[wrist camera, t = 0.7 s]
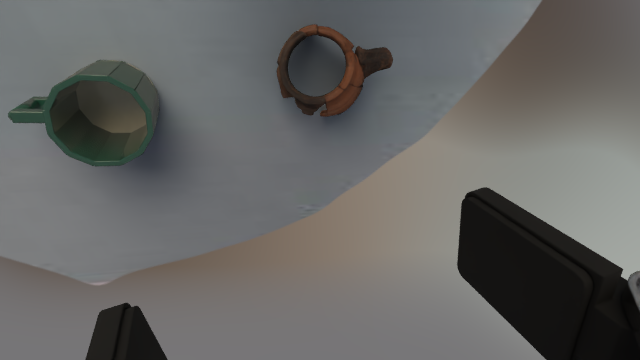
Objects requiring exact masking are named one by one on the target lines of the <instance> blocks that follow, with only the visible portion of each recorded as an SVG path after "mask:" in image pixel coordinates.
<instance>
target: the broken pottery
mask: <svg viewBox="0 0 640 360" xmlns="http://www.w3.org/2000/svg"><path fill="white" fill-rule="evenodd" d="M312 35H319V36H323V37H327V38H330V39H331V40H333V41H335V42H336V43H337V44H338V45H339V46H340V48H341V49H342V51H343V53H344V55H345V59H346V70H345V74H344V77H343V79H342V81H341V83H340V84H339V85H338V86H337V87H336V88H335V89H334V90H333V91H331V92H330V93H328V94H325V95H324V96H318V97H312V96H308V95H305V94H303V93H301V92H300V91H298V90H297V89H296V88H295V87H294V86H293V84H292V83H291V81H290V78H289V74H288V62H289V58H290V56H291V53H292V51H293V50H294V49H295V47H296V46H297V45H298V44H299V43H300V42H301V41H303V40H304V39H306V38H307V37H308V36H312ZM353 47H354V45H353V44H352V43H351V42H350V41H349V40H348V39H347V38H345V37H344V36H343V35H342V34H340V33H339V32H337V31H335V30H333V29H331V28H329V27H323V26H318V25H315V24H314V25H309V26H306V27H303V28H301V29H300V30H299V31H296V32H294V33H293V34H292V35H291V36H290V37H289V39H288V40H287V41H286V43H285V44H284V46H283V48H282V50H281V52H280V54H279V57H278V61H277V63H278V68H277V77H278V81H279V85H280V89H281V94H282V96H283V98H289V97H294V98H295V103H296V105H297V107H298V108H300V109H301V110H302V112H303V113H304V114H307V115H313V114H314V112H315V111H317V110H318V109H319V108H320V107H321V106H322V105H324V104H326V108H327V110H322V111H321V113H320V116H323V117H327V116H333V115H336V114H338V115H339V114H341V113H343V112H344V111H346V110H347V109H348V108H349V107H350V106H351V105H352V104H353V103H354V101H355V100H356V99H357V97H358V96H359V94H360V92H361V90H362V87H363V82H364V79H365V78H366V77H368V76H369V75H371V74H372V73H374V72H376V71H380V70H383V69H387V68H390V67H391V65H392V63H393V57H392V55H391V52H390V51H389V50H388V49H387V48H384V47H382V48H374V49H369V50H366V49H362V48H361V47H359V46H358V47H357V48H356V51H355V54H354V52H353V51H352V49H353Z"/></svg>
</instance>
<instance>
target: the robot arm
mask: <svg viewBox="0 0 640 360" xmlns="http://www.w3.org/2000/svg"><path fill="white" fill-rule="evenodd" d="M457 265H458V270H459V273H460V274H461V276H462V277H463V278H464V279H465V280H466V281H467V282H468V283H469V284H470V285H471V286H472V287H473V288H474V289H475V290H476V291H477V292H478V293H479V294H480V295H481V296H482V297H483V298H484V299H485V300H486V301H487V302H488V303H489V304H490V305H491V306H492V307H494V308H495V309H496V311H498V312H499V314H501V315H502V316H503V317H504V318H505V319H506V320H507V321H508V322H509V323H510V324H511V325H512V326H513V327H514V328H515V329H516V330H517V331H518V332H519V333H520V334H521V335H522V336H523V337H524V338H525V339H526V340H527V341H528V342H529V343H530V344H531V345H532V346H533V347H534V348H535V349H536V350H537V351H538V352H539V353H540V354H541V355H542V356H543V357H544V358H545V359H546V360H640V271H637V272H635V273H633V274H631V275H630V277H629V279H628V281H627V280H626V279H624V278H622V277H621V274H622V271H623V269H622V268H620V267H619V266H617V265H615V264H614V263H612V262H610V261H609V260H607V259H605V258H604V257H602V256H600V255H599V254H597V253H595V252H594V251H592V250H590V249H589V248H587V247H586V246H584V245H582V244H581V243H579V242H577V241H575V240H574V239H572V238H571V237H569V236H567V235H565V234H563V233H562V232H561V231H559V230H557V229H555V228H554V227H552V226H551V225H549V224H547V223H546V222H544V221H542V220H541V219H539V218H537V217H536V216H534V215H532V214H531V213H529V212H527V211H526V210H524V209H522V208H521V207H519V206H518V205H516V204H514V203H513V202H511V201H509V200H508V199H506V198H504V197H503V196H501V195H499V194H498V193H496V192H494V191H493V190H491V189H489V188H481V189H478V190H475V191H471V192H469V193H467V194H466V196H465V199H464V200H463V201H462V206H461V221H460V235H459V249H458V263H457ZM86 360H167V358H166V356H165V354H164V352H163V351H162V349H161V347H160V345H159V343H158V341H157V339H156V337H155V335H154V334H153V332H152V330H151V328H150V326H149V324H148V322H147V321H146V319H145V317H144V315H143V313H142V311H141V309H140V308H139V307H138V306H134V307H131V306H130V304H128V303H124V304H121V305H118V306H114V307H111V308H108V309H105V310H102V311H101V312H100V313H99V315H98V318H97V322H96V325H95V329H94V332H93V336H92V339H91V343H90V346H89V350H88V353H87V357H86Z"/></svg>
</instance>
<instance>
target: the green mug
mask: <svg viewBox="0 0 640 360" xmlns="http://www.w3.org/2000/svg"><path fill="white" fill-rule="evenodd" d="M158 115H159V99H158V92H157V90H156V88H155V87H154V85H153V83H152V82H151V80H150V79H149V78H148V77H147V75H146V74H144V72H142V71H141V70H139V69H138V68H136V67H134V66H132V65H130V64H128V63H126V62H123V61H115V60H98V61H96V62H94V63H92V64H90V65H88V66H86V67H84V68H82V69H80V70H78V71H77V72H75V73H74V74H72V75H71V76H69V77H68V78H66V79H64V80H63V81H61V82H60V83H58V84H57V85H55V86H54V87H53V88H52V90H51V92H50V94H49V96H48V97H32V98H30V99H29V100H27V101H26V102H24V103H22V104H21V105H19V106H18V107H16V108H14V109H13V110H11V111H10V112H9V113H8V117H9V119H10V120H12V121H13V123H45V125H46V130H47V134H48V136H49V137H50V138H51V139H52V140H53V141H54V142H55V143H56V144H57V145H58V146H59V147H60V149H61V150H62V151H63V152H64V153H65V154H66V155H68V156H69V157H72V158H74V159H77V160H79V161H82V162H84V163H87V164H89V165H92V166H94V165H95V166H121V165H123V164H125V163H127V162H129V161H131V160H133V159H135V158H136V157H138V156H140V155H142V154H143V153H144V151H145V149H146V147H147V146H148V144H149V142H150V140H151V139H152V137H153V134H154V130H155V126H156V122H157V119H158Z"/></svg>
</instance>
